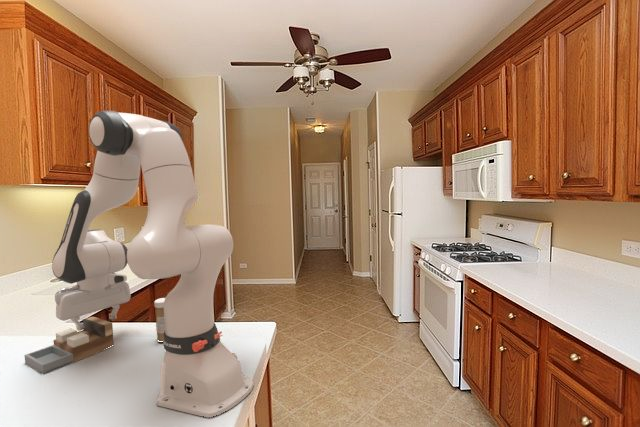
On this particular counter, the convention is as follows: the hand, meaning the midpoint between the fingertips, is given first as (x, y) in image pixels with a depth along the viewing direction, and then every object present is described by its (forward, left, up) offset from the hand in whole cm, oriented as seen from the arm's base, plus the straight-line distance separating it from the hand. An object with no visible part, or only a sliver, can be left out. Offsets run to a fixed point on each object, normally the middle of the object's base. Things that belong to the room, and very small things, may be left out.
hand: (97, 324), depth 105 cm
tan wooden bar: (0, 0, -3) cm, 3 cm away
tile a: (-3, +7, -3) cm, 8 cm away
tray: (0, +13, -7) cm, 15 cm away
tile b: (+4, +7, -3) cm, 8 cm away
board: (0, +4, -7) cm, 8 cm away
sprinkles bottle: (-17, -12, -7) cm, 21 cm away
